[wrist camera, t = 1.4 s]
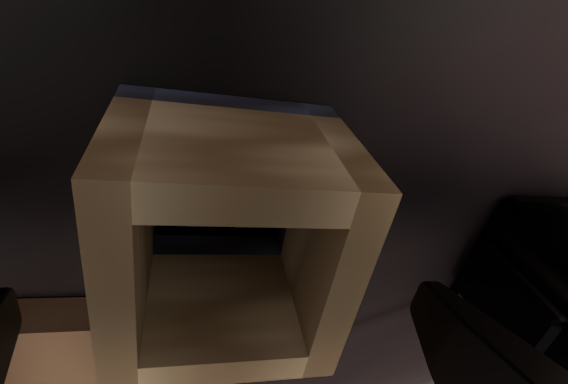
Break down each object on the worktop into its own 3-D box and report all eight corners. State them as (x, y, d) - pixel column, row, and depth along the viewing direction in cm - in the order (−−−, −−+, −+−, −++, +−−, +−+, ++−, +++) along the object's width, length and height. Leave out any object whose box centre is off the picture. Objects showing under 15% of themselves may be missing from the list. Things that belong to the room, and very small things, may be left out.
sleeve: (330, 105, 12) (403, 194, 8) (294, 255, 15) (332, 375, 11) (119, 84, 10) (71, 178, 6) (128, 255, 13) (98, 394, 9)
